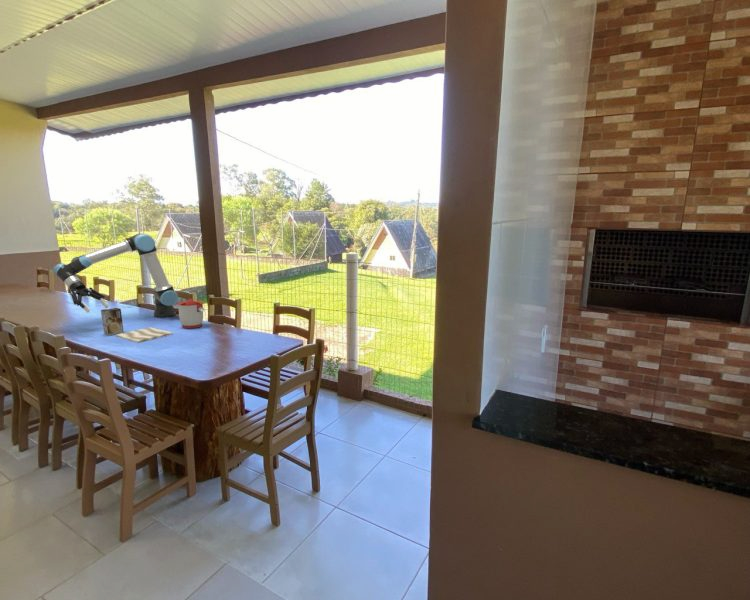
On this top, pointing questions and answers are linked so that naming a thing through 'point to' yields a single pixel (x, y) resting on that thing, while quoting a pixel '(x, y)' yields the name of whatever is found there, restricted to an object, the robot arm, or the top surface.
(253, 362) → the top surface
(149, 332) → the striped cloth
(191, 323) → the citrus juicer
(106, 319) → the coffee box
